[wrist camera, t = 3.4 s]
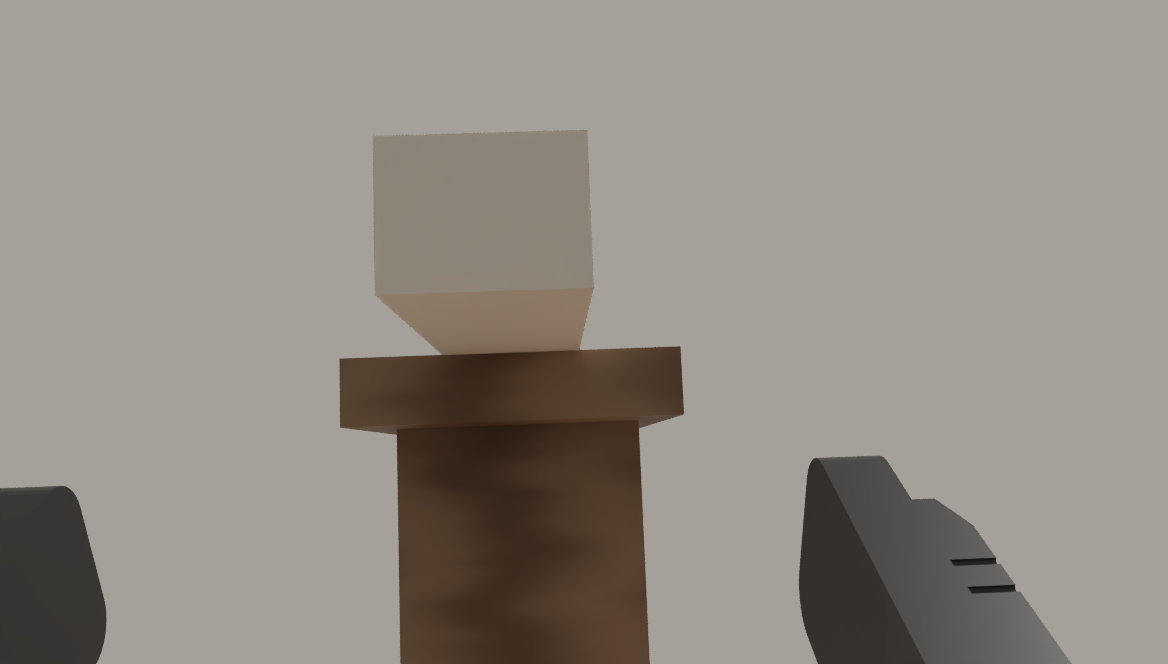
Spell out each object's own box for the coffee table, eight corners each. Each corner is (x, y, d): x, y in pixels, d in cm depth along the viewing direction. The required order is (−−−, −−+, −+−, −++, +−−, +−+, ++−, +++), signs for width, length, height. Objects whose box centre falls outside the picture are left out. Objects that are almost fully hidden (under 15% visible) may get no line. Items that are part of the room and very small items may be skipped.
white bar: (348, 405, 18) (345, 85, 18) (475, 435, 46) (472, 309, 47) (625, 395, 18) (611, 78, 19) (581, 431, 47) (577, 305, 47)
